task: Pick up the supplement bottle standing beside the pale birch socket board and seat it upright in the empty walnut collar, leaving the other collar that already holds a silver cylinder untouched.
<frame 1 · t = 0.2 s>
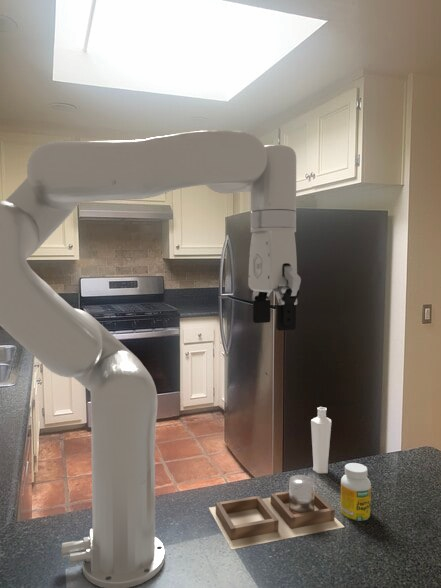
hand: (273, 325, 75), 36 cm above the countertop, tool pointing down, fingers open, 9 cm apart
supplement bottle: (354, 518, 83), on the countertop
silver cylinder: (301, 512, 83), point 1 cm above the countertop, touching socket board
socket board: (274, 522, 81), on the countertop
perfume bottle: (321, 475, 100), on the countertop
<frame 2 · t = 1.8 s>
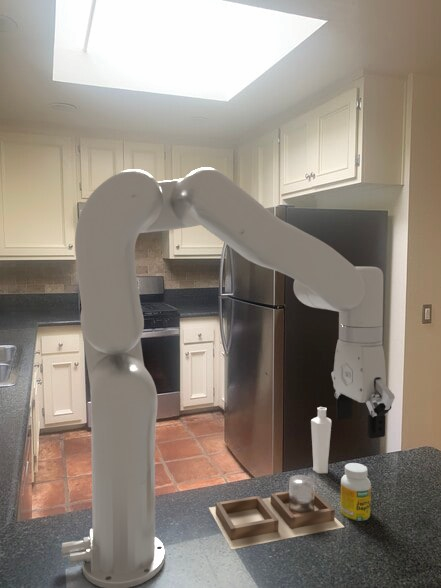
hand: (359, 427, 82), 17 cm above the countertop, tool pointing down, fingers open, 9 cm apart
nothing on the countertop moved.
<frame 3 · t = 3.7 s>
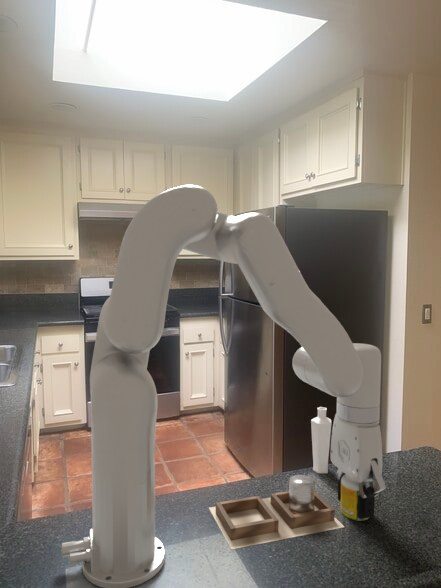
hand: (355, 507, 83), 2 cm above the countertop, tool pointing down, fingers closed on supplement bottle, 5 cm apart
supplement bottle: (355, 518, 83), on the countertop, touching gripper
everything else where it was.
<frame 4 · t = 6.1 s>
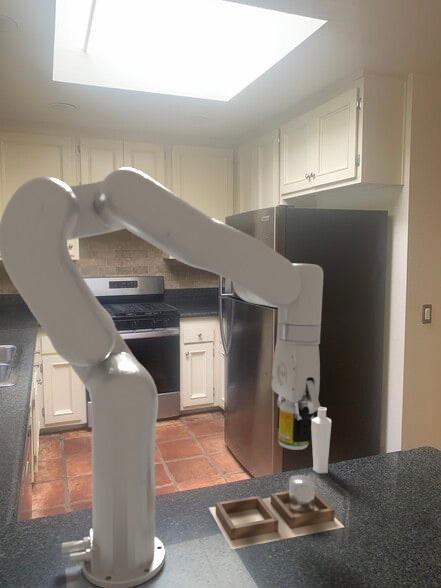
hand: (293, 433, 80), 17 cm above the countertop, tool pointing down, fingers closed on supplement bottle, 5 cm apart
supplement bottle: (293, 445, 80), point 14 cm above the countertop, touching gripper
everything else where it was.
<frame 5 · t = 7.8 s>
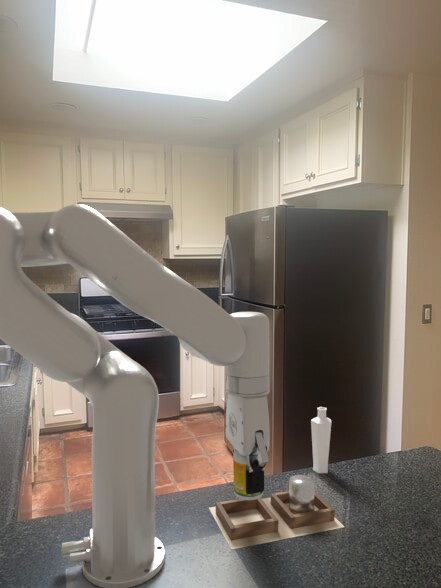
hand: (248, 482, 79), 8 cm above the countertop, tool pointing down, fingers closed on supplement bottle, 5 cm apart
supplement bottle: (248, 494, 79), point 6 cm above the countertop, touching gripper
everything else where it was.
when the fingers open (4 cm above the countertop, at t = 8.9 s): supplement bottle drops 1 cm, resting on socket board.
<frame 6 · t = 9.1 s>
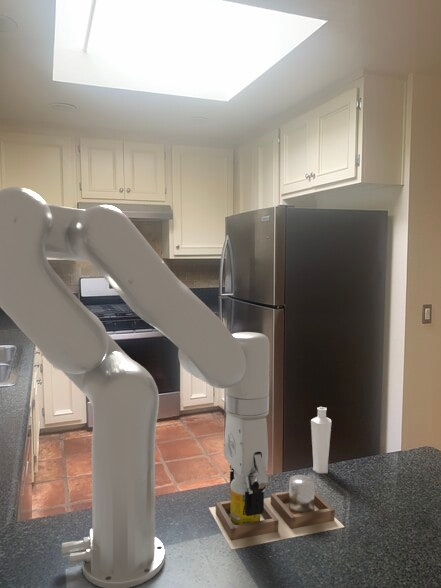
hand: (246, 501, 79), 5 cm above the countertop, tool pointing down, fingers open, 7 cm apart
supplement bottle: (245, 523, 79), point 1 cm above the countertop, touching socket board
everything else where it was.
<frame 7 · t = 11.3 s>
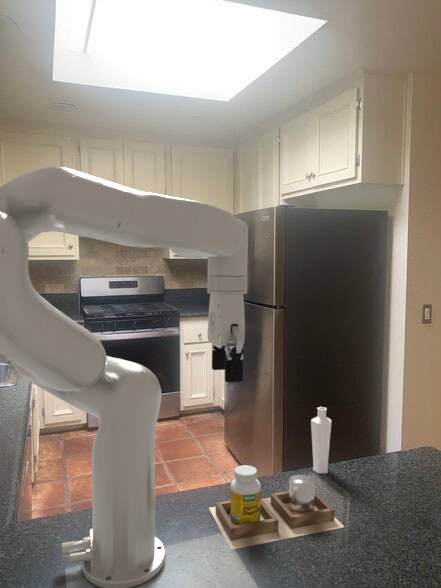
hand: (226, 375, 85), 26 cm above the countertop, tool pointing down, fingers open, 9 cm apart
nothing on the countertop moved.
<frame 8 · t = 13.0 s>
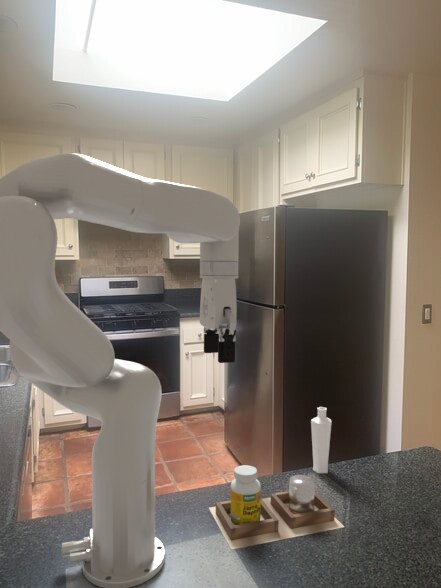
hand: (218, 357, 89), 28 cm above the countertop, tool pointing down, fingers open, 9 cm apart
nothing on the countertop moved.
at the end: supplement bottle 0.2 cm from the target spot on the socket board, point 0.8 cm above the socket board's base; supplement bottle tilted 0°; the gripper is holding nothing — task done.
